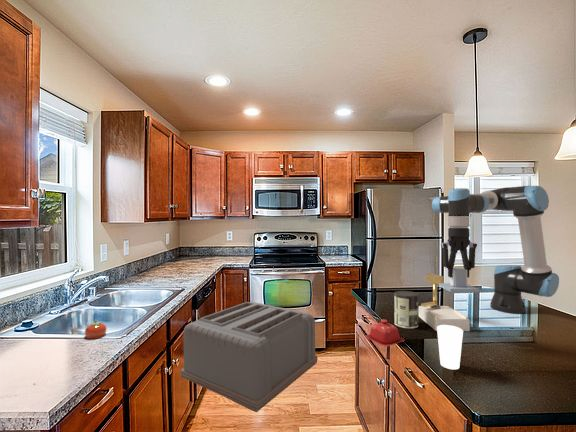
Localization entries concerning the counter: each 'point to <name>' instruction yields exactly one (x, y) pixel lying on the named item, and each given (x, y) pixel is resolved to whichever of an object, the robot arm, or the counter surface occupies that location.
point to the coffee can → (406, 309)
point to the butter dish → (384, 334)
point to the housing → (444, 317)
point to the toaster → (249, 352)
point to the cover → (459, 283)
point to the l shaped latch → (435, 280)
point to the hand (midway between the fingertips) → (458, 285)
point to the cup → (450, 345)
